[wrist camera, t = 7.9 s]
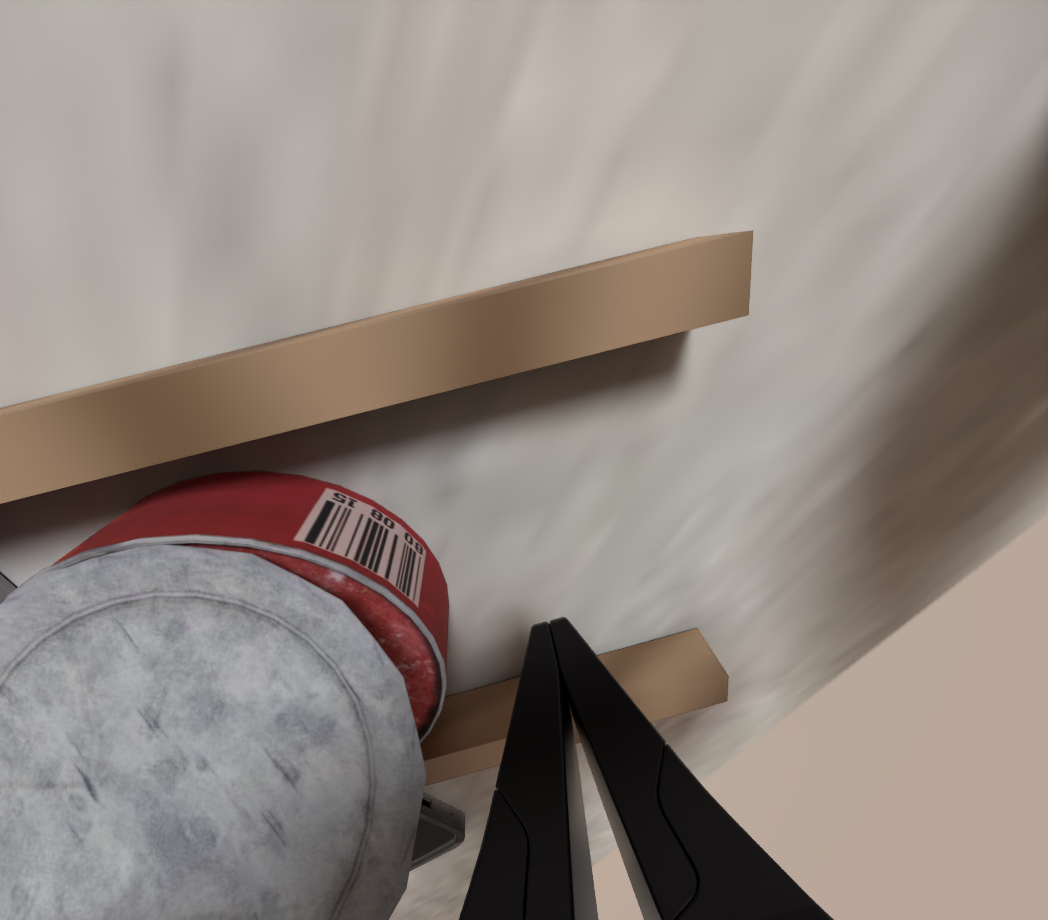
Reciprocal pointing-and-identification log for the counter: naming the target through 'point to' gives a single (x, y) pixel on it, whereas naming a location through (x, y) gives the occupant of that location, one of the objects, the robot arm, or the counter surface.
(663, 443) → the counter surface
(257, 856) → the canned food
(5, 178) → the counter surface
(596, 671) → the robot arm
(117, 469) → the guide channel
